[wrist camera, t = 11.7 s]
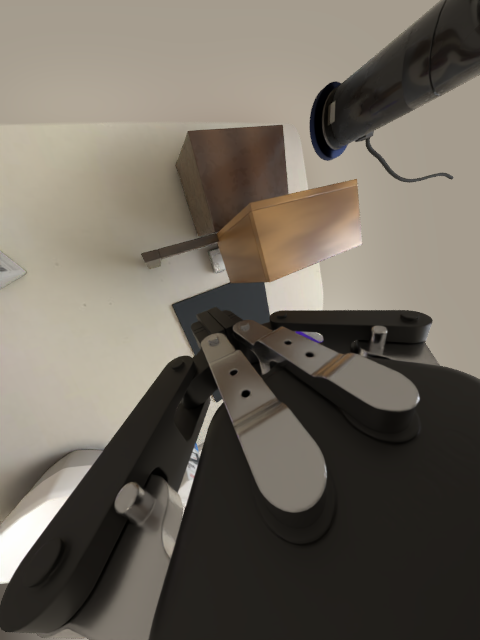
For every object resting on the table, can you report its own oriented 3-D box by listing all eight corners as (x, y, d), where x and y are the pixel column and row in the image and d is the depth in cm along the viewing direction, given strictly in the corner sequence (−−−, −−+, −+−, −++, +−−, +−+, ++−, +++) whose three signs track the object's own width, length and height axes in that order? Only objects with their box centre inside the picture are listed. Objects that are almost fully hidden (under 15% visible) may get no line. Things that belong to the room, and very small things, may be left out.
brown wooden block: (248, 155, 30) (282, 124, 23) (258, 220, 35) (290, 212, 27) (175, 164, 26) (187, 130, 19) (197, 236, 31) (215, 232, 23)
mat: (261, 271, 39) (262, 271, 38) (277, 364, 52) (278, 365, 51) (172, 304, 32) (172, 305, 32) (215, 401, 45) (216, 402, 45)
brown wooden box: (357, 178, 18) (362, 244, 20) (262, 229, 35) (271, 262, 37) (126, 230, 11) (170, 323, 13) (146, 263, 28) (164, 301, 30)
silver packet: (239, 265, 35) (236, 264, 36) (234, 243, 33) (231, 243, 34) (216, 273, 33) (213, 272, 34) (209, 251, 31) (207, 251, 32)
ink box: (197, 442, 47) (210, 492, 38) (180, 455, 46) (190, 510, 36) (179, 428, 43) (189, 480, 33) (160, 442, 42) (165, 501, 32)
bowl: (67, 427, 31) (41, 486, 23) (152, 447, 41) (154, 493, 33) (-12, 508, 30) (-67, 600, 22) (96, 508, 40) (84, 572, 32)
